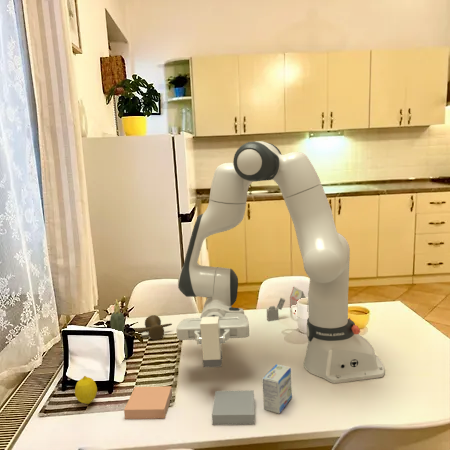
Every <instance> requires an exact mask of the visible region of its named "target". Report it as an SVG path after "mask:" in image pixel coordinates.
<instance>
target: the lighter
mask: <svg viewBox="0 0 450 450" xmlns="http://www.w3.org/2000/svg"><path fill="white" fill-rule="evenodd" d="M285 303H286V299H285V298H283V297H280V298H279V300H278V303H277V305H276V306H275V305H271V306H269V307H268V308H266V320H267V322H273V321H279V319H280V318H279V310H280V311H282V309H283V306H284V304H285Z"/></svg>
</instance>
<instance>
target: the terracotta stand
mask: <svg viewBox="0 0 450 450" xmlns="http://www.w3.org/2000/svg"><path fill="white" fill-rule="evenodd" d="M172 387H173V386H170V385H167V386H166V385H165V386H163V385H162V386H161V385H160V386H135V387H133V390H132V393H131V394H130V397H129V399H127V400H128V401H127V403H126V405H125V407H124V409H123V412H124V413H123V414H124V419H125V420H143V419H144V420H148V419H150V420H151V419H152V420H153V419H154V420H155V419H156V420H158V419H166V417H167V413H168V409H169V408H170V407H169V406H170V403H171V401H170V400H172V398H173V388H172ZM171 397H172V398H171Z"/></svg>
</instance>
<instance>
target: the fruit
mask: <svg viewBox="0 0 450 450" xmlns="http://www.w3.org/2000/svg"><path fill="white" fill-rule="evenodd" d="M96 383H97V382H96V381H95V380H94V379H93V378H91V377H88V376H86V375H84V376H83V377H82V378H80V379H79V380H78V381H77V382H76V384H75V388H74V395H75V398H76V400H77V401H78V402H80V403H81V404H86V405H89V404H92V402H93V400H95V398H96V396H97V392H98V387H97V384H96Z"/></svg>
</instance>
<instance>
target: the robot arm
mask: <svg viewBox="0 0 450 450" xmlns="http://www.w3.org/2000/svg"><path fill="white" fill-rule="evenodd" d="M232 161H233V162H224V163H222V164H219V165H218V166H217V167H216V169H214V173H213V176H212V180H211V186H210V193H209V199H208V205H207V207H206V209H205V210H204V212H203V213H201V214H199V215H198V216H197V217H196V220H195V222H194V225H193V229H192V232H191V236H190V238H189V242H188V247H187V251H186V253H185V259H184V261H183V264H182V265H183V266H182V267H181V270H180V272H179V275H178V279H177V287H178V290H179V291H180V293H182V295H184V296H185V297H190V298H191V297H193V298H197V297H199V298H202V297H203V298H206V300H205V302H204V304H203V308H202V310H201V315H200V317H191V318H190V317H189V318H187V317H186V318H184V319H182V320H181V321H180V322H179V323H178V325H177V326H176V337H177V340H179V341H192V340H193V341H194V340H195V341H196V344H197V345H202V340H201V329H200V323H201V319H202V317H218V316H219V325H220V336H219V340H220V343H221V344H226V342H227V341H228V340H229V339H244V338H249V337H250V323H249V320H248V317H247V315H246V314H245V310H244V308H241V307H233V305H234V304H235V303H236V301H237V298H238V290H239V289H238V288H239V278H238V275H237V273H236V272H235V271H234V269H232V268H229V267H228V268H227V267H222V266H220V267H219V266H208V265H201V264H199V263H198V261H199V258H200V254H201V250H202V246H203V243H204V240H206V239H207V238H209V237H210V236H213V235H215V234H218V233H219V234H220V233H224V232H227V231H229V230H233V229H234V228H236V227H237V226H238V225H240V224H241V222H242V221H243V220H244V218H245V213H246V207H247V199H248V190H249V187H250V185H251V184H252V183H253V182H265V181H274V182H275V183H276V185H277V186H278V188H279V190H280V193H281V195H282V198H283V200H284V202H285V206H286V208H287V210H288V214H289V216H290V219H291V221H292V224H293V226H294V231H295V235H296V239H297V244H298V247H299V251H300V254H301V258H302V262H303V269H304V272H305V274H306V275H307V276H308V278H309V283H308V284H309V285H308V291H307V292H308V293H307V295H308V296H307V299H308V300H307V312H308V317H307V321H306V336H307V346H306V347H307V348H306V354H305V357H304V362H303V366H304V369H305V370H307V372H309V373H310V374H312V375H314V376H317V377H320V378H321V379H325V380H327V381H328V382H330V383H333V384H339V383H346V382H347V383H348V382H355V381H362V380H363V381H364V380H369V379H377V378H378V379H379V378H383V377H384V376H385V373H386V372H385V371H386V370H385V366H384V363H383V361H382V360H381V358H380V357H379V356H378V355H376V353H375V350H374V347H373V346H372V344H371V342H370V341H368V339H366V338H365V337H363V336H362V335H360V333H361V330H360V328H359V325H356V323H355V322H354V321H353V320H352V319H351V317H349V282H350V258H351V257H350V255H351V253H350V252H351V250H350V245H349V242H348V240H347V239H346V237H345V236H343V235H342V234H341V233H339V232H338V229H337V228H336V224H335V220H334V215H333V212H332V211H333V210H332V208H331V205H330V202H329V200H328V197H327V195H326V192H325V190H324V187H323V184H322V182H321V180H320V178H319V177H320V176H318V173H317V171H316V169H315V167H314V165H313V164H312V162H311V160H310V159H309V157H308V156H307V155H306V154H305V153H303V152H300V151H291V152H288V153H286V154H282V152H281V151H280V149H279V148H278V147H277V146H276V145H274V144H273V143H270V142H266V141H262V140H261V141H260V140H258V141H257V140H256V141H248V142H246V143H244V144H241V146H240V147H238V148H237V150H236V151H235V153H234V156H233V160H232Z"/></svg>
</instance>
